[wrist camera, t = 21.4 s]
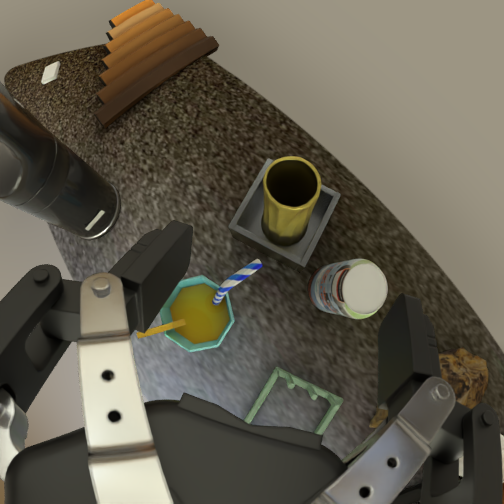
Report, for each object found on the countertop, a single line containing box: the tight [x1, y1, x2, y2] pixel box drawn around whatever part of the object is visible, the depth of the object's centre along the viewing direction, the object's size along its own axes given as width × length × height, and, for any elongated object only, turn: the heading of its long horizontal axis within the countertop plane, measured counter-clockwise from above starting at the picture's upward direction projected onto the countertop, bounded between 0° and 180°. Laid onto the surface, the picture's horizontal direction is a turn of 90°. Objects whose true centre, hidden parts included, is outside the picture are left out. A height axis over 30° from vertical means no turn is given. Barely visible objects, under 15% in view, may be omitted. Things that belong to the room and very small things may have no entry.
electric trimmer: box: [391, 484, 422, 504], centre depth 33 cm, size 4×16×3 cm, turn 99°
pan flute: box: [93, 0, 219, 128], centre depth 48 cm, size 25×3×25 cm
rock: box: [370, 347, 488, 428], centre depth 33 cm, size 19×9×15 cm
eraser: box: [41, 61, 60, 84], centre depth 51 cm, size 1×5×4 cm
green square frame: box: [244, 366, 343, 435], centre depth 35 cm, size 10×10×6 cm
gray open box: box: [228, 159, 341, 273], centre depth 40 cm, size 10×10×6 cm
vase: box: [261, 156, 321, 246], centre depth 35 cm, size 6×6×14 cm
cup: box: [137, 259, 262, 352], centre depth 34 cm, size 14×8×15 cm, turn 126°
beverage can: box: [308, 259, 388, 319], centre depth 35 cm, size 6×7×12 cm
